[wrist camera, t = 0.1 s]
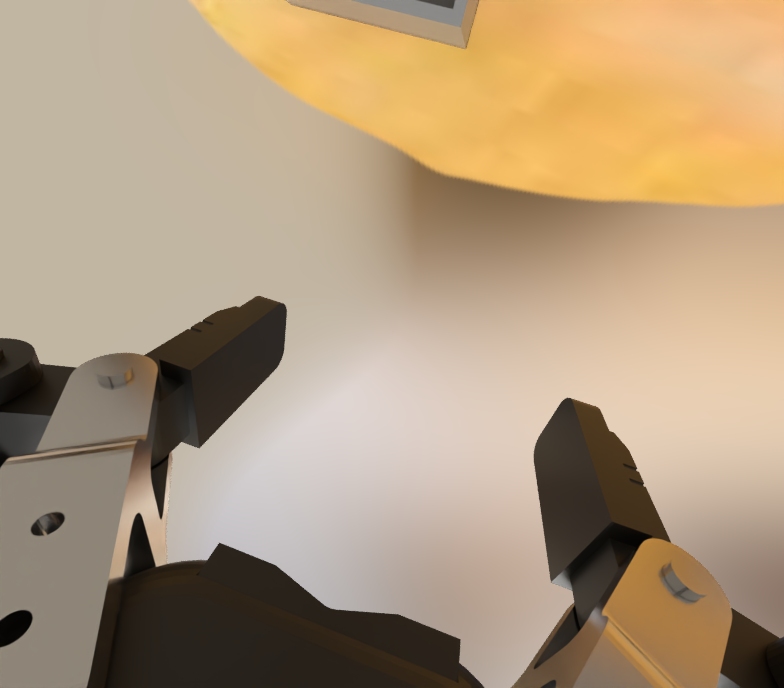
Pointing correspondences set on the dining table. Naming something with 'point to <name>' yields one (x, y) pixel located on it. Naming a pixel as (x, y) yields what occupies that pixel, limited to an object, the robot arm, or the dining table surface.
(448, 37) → the bin
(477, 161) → the dining table surface
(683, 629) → the robot arm
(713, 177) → the dining table surface
